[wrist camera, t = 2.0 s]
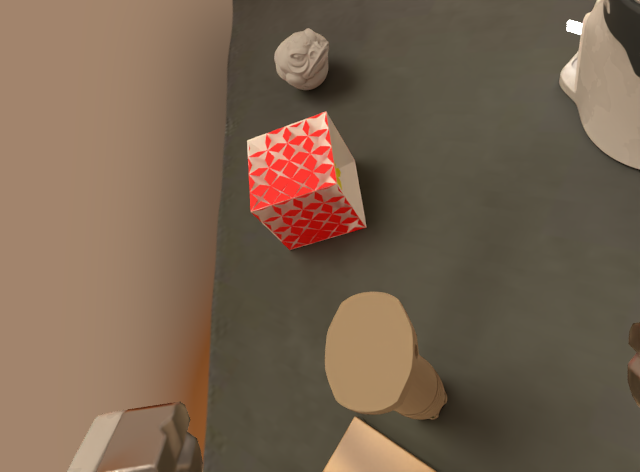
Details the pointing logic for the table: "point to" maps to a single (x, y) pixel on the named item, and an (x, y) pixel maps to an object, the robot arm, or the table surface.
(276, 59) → the frog figurine
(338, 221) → the red and white cube
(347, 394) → the handle
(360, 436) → the oak board
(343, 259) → the table surface
